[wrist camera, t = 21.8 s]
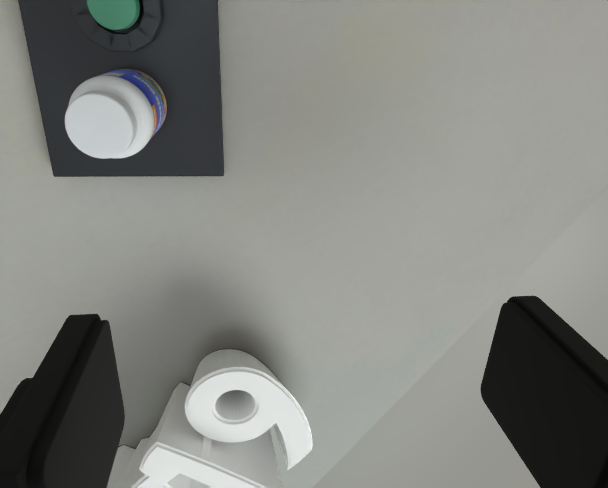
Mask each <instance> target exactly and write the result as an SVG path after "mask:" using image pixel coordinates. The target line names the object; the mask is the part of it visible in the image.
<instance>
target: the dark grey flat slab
mask: <svg viewBox="0 0 608 488" xmlns="http://www.w3.org/2000/svg"><path fill="white" fill-rule="evenodd" d="M18 1H19V6H20V11H21V16H22V21H23V26H24V31H25V36H26V41H27V46H28V51H29V55H30V60H31V65H32V70H33V75H34V80H35V85H36V90H37V95H38V100H39V105H40V110H41V115H42V120H43V125H44V130H45V135H46V140H47V145H48V150H49V155H50V160H51V165H52V170H53V175H54V177H82V176H224V158H223V131H222V105H221V78H220V51H219V25H218V0H139V4H140V13H139V17H138V19H137V21H136V22H135V24H134V25H133V26H131V27H129V28H127V29H123V30H111V29H108V28H105V27H103V26H102V25H100V24H99V23H98V22H97V21H96V20H95V19H94V18H93V17H92V15H91V13H90V11H89V9H88V5H87V0H18ZM118 69H134V70H138V71H141V72H143V73H145V74H147V75H148V76H150V77H151V78H152V79H153V80H154V81H156V83H157V84H158V85H159V86H160V88H161V89H162V91H163V93H164V96H165V99H166V105H167V111H166V117H165V120H164V122H163V124H162V126H161V127H160V129H159V130H158V131H157V132H156V133H155V134H154V136H153V137H152V138H151V139H150V141H149V142H148V143H147V144H146V145H145V147H144V148H143V149H141V150H140V151H139V152H138V153H136V154H134V155H132V156H129V157H126V158H107V159H102V158H95V157H92V156H89V155H87V154H85V153H83V152H82V151H81V150H79V149H78V148H77V147H76V146H75V145H74V144H73V143H72V141H71V140H70V138H69V136H68V134H67V131H66V128H65V114H66V111H67V109H68V105H69V101H70V98H71V96H72V94H73V92H74V91H75V89H76V88H77V87H78V86H79V85H80V84H82V83H83V82H85V81H86V80H88V79H91V78H93V77H96V76H99V75H102V74H105V73H108V72H111V71H114V70H118Z"/></svg>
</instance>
